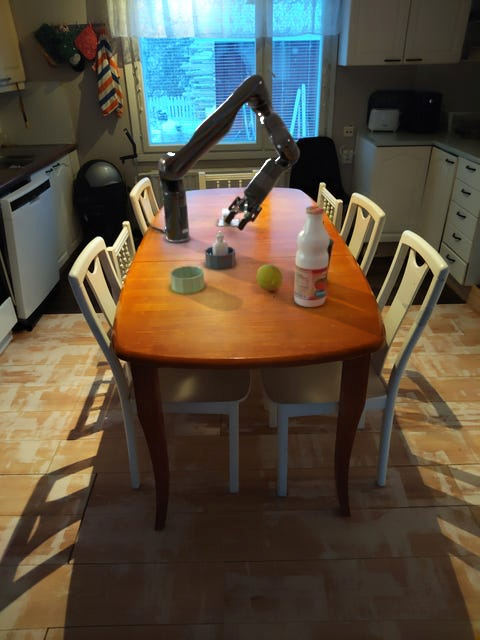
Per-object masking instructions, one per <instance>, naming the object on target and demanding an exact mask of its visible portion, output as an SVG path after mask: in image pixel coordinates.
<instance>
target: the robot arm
mask: <svg viewBox="0 0 480 640" xmlns="http://www.w3.org/2000/svg"><path fill="white" fill-rule="evenodd" d="M245 105H247V107H248V108H249V109H250V110H251V111H252V112H253V113H254V114H255V115H256V116H257V118H258V119H259V121H260V122H261V124H262V127H263V129H264V131H265V133H266V135H267V136H268V138H269V140H270V142H271V143H272V145H273V148H274V150H275V152H276V153H277V155H278V156H279V157H278V158H277V159H276V160H275V159H273V158H269V159H267V160H266V161H265V163H264V164H263V165H262V167H261V169H260V170H259V171H258V172H257V173H256V174H255V176H254V177H253V178H252V179H251V181H250V182H249V184H248V185H247V186H246V188H245V189H244V191H243V194H244V195H243V197H240V196H239V195H237V196H236V197H235V199H233V201H232V202H231V203H230V204H229V206H228V210H229V211H230V213H229V214H228V216H227V217H226V219H225V220H224V221H225V222H226V223H227V224H230V223H231V221H232V220H233V218H234V217H235V218H236V216H237V215H239V214H240V215H241V214H243V218H242V219H241V220H239V222H238V226H236V228H237V229H238V231H243V230H244V229H245V227H246V226H247V225H248V223H250V222H251V223H254V222H255V221H256V219H257V218H258V216H259V215H260V213H261V212H262V210H263V207H262V206H261V205H263V203H264V202H265V200H266V199H267V198H268V196H269V195H270V193H271V192H272V191H273V189H274V187H275V185H276V184H277V182H278V181H279V179H280V178H281V176H282V175H283V174H284V173H285V172H287V171H288V170H289V169H291V168H292V167H293V166H294V165H295V164H296V163H297V162H298V160H299V158H300V155H301V151H300V148H299V146H298V144H297V142H296V141H295V139H294V137H293V135H292V133H290V131H289V129H288V127H287V125H286V124H285V121H284V120H283V118H282V117H281V116H280V114H278V113H277V112H276V111H275V109H274V107H273V104H272V100H271V96H270V91H269V89H268V85H267V83H266V81H265V79H264V77H263V76H262V75H261V74H259V73H256V74H252V75H250V76H248V77H247V78H246V79H244V80H243V81H242V82H241V83H240V84H239V86H238V87H237V88H236V89H235V90H234V91H233V92H232V93H231V94H230V95H229V97H228V98H227V99H226V100H225V101H224V102H223V103H222V104H221V105H219V107H218V108H217V109H216V110H214V111H213V112H212V113H211V114H210V115H209V116H208V117H207V118H206V119H204V120H203V121H202V122H201V124H199V125H198V127H196V129H195V131H194V132H193V134H192V136H191V137H190V139H189V140H188V141H187V143H186V144H185V145H184V146H183V147H182V148H180V149H179V150H178V151H177V152H175V153H172V152H168V153H164V154H162V155H161V156H160V158H159V160H158V164H157V169H158V178H159V186H160V191H161V195H162V203H163V212H164V216H163V217H164V225H165V226H164V227H163V228H164V230H162V229H161V228H158V227H155V226H153V225H151V222H150V221H148V220H147V221H146V222H145V225H148V226H149V228H150V229H153V230H156V231H159V232H161V233H163V234H165V236H166V241H167V242H168V243H176V244H177V243H179V244H180V243H185V242H187V241H189V240H190V239H191V236H190V225H189V212H188V211H189V210H188V199H187V189H186V187H185V184H184V177H185V176H186V175H187V174H188V173H189V171H191V169H192V168H193V167H194V166H195V165H196V164H197V162H198V161H199V160H200V159H201V158H203V157H204V156H206V154H208V153H209V152H210V151H211V150H212V149H213V148H215V146H217V145H218V144H219V143H220V142H221V141H223V139H225V137H227V135H229V133H230V131H231V130H232V128H233V125H234V123H235V120H236V118H237V116H238V113H240V111H241V109H242V108H243V107H244V106H245ZM235 218H234V219H235Z"/></svg>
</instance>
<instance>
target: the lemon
mask: <svg viewBox="0 0 480 640" xmlns="http://www.w3.org/2000/svg"><path fill="white" fill-rule="evenodd" d="M256 282H257V284H258V285H259V287H260V288H261V289H263V290H265V291H268V292H275V291H277V290H279V288H280V287H281V286H282V284H283V274H282V272H281V270H280V269H279V268H278V267H277V266H276V265H274V264H270V263H269V264H268V263H267V264H263V265H261V266H260V267H259V268H258V269H257V272H256Z"/></svg>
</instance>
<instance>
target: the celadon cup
mask: <svg viewBox="0 0 480 640" xmlns="http://www.w3.org/2000/svg"><path fill="white" fill-rule="evenodd" d="M169 273H170V284H171V290H172V291H173V292H175V293H177V294H183V295H185V294H195V293H199V292H201V291H202V290H203V289H205V272H204V269H203V268H201V267H199V266H195V265H184V266H179V267H175V268H173V269H172V270H171V271H170V272H169Z"/></svg>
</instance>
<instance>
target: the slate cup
mask: <svg viewBox="0 0 480 640" xmlns="http://www.w3.org/2000/svg"><path fill="white" fill-rule="evenodd" d="M235 250H236V249H235V248H234V247H232V246H229V245H228V254H227V255H222V256H215V255H213V246H210V247H207V248H206V249H204V256H205V257H204V258H205V259H204V260H205V267H206V268H209V269H210V270H217V271H220V270H221V271H222V270H227V269H230V268H233V267H234V266H236V251H235Z"/></svg>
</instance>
